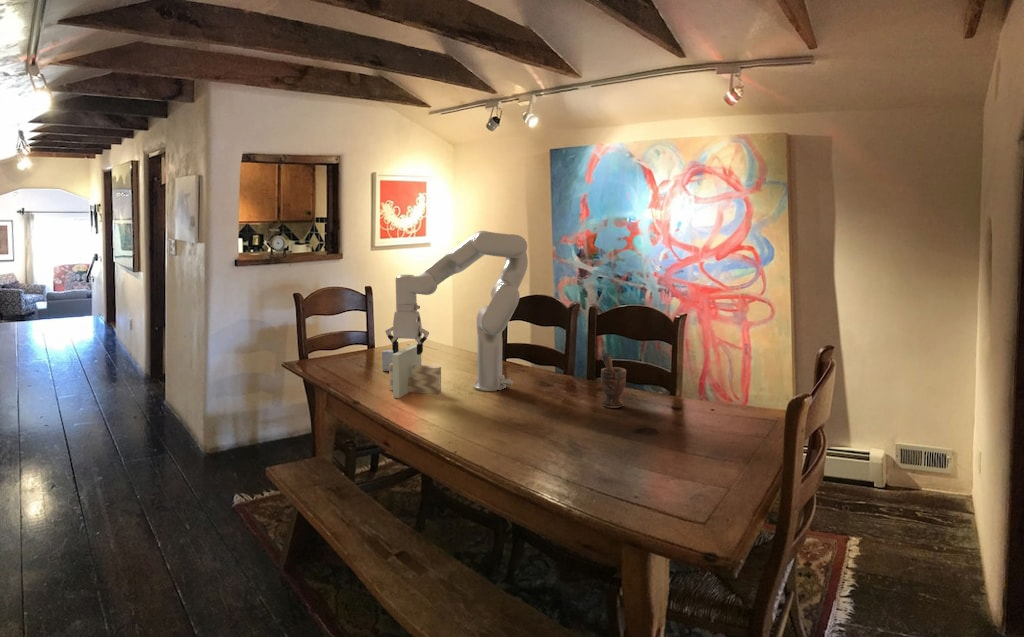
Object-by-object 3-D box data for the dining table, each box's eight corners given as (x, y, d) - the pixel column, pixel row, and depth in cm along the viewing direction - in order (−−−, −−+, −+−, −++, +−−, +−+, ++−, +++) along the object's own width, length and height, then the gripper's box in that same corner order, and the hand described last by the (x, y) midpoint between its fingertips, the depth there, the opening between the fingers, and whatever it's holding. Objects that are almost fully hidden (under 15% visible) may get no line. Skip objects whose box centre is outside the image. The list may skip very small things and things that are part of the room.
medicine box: (403, 370, 285) (402, 350, 284) (400, 372, 281) (400, 352, 280) (385, 369, 286) (384, 349, 285) (382, 371, 282) (381, 351, 280)
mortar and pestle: (624, 413, 225) (626, 355, 222) (598, 411, 227) (600, 354, 224) (625, 403, 236) (627, 348, 233) (601, 402, 238) (602, 347, 235)
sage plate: (416, 384, 261) (415, 344, 259) (421, 384, 261) (421, 344, 258) (393, 397, 242) (392, 354, 240) (399, 398, 242) (398, 354, 239)
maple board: (441, 392, 249) (440, 366, 248) (438, 394, 247) (438, 368, 245) (392, 388, 255) (391, 363, 253) (389, 390, 252) (389, 364, 251)
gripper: (432, 307, 248) (432, 352, 251) (389, 305, 253) (391, 350, 255) (423, 310, 241) (424, 356, 243) (380, 308, 245) (382, 354, 248)
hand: (407, 353), depth 249 cm, fingers open, 9 cm apart
